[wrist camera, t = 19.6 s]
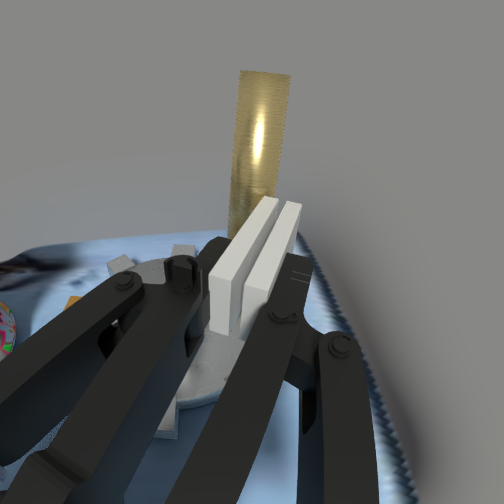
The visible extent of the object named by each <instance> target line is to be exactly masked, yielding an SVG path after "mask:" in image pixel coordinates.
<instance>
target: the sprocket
mask: <svg viewBox="0 0 504 504" xmlns="http://www.w3.org/2000/svg"><path fill="white" fill-rule="evenodd" d="M290 79H291V76H289V75H283V74H275V73H266V72H256V71H241V70H240V75H239V86H238V97H237V108H236V119H235V132H234V144H233V158H232V172H231V186H230V201H229V217H228V218H229V219H228V235H227V238H228V239H232V240H233V239H234V237H235V236H236V235H237V233H238V232H239V230H240V229H241V228H242V226H243V225H244V223H245V222H246V221H247V219H248V218H249V216H250V215H251V214H252V212H253V211H254V209H255V208H256V207H257V205H258V204H259V202H260V201H261V200H262V198H263V197H264V196H267V197H272V198H275V191H276V184H277V176H278V170H279V162H280V155H281V148H282V139H283V132H284V125H285V118H286V110H287V103H288V94H289V87H290ZM175 255H190V256H193V257H195V245H175V244H174V247H173V250H172V254H171V257H172V256H175ZM166 259H168V258H162V259H156V260H151V261H147V262H143V263H140V264H137V265H135V264H134V263H133V262H132V261H131V260H130V259H129V258H128V257H127V256H126V255H125V254H124V255H122V256H120V257H118V258H116V259H113V260H111V261H109V262H107V263H106V264H107V268H108V272H109V276H110V277H111V276H113V275H114V274H116V273H118V272H122V271H133V272H136V273H138V274H139V275H140V276H141V278H142V281H143V283H148V284H164V283H165V282H166V279H165V271H164V263H163V262H164V261H165V260H166ZM80 298H82V297H78V296H70V298H69V300H68V302H67V305H66V307H65V309H64V310H66V309H67V308H68V307H70V306H71V305H72V304H74V303H75V302H76V301H78V300H79V299H80ZM241 313H242V309H241V311H240V313H239V315H238V317H237V320H236V322H235V324H234V326H233V328H232V330H231V332H230V334H229V336H226V335H223V334H220V333H217V332H214V331H211V330H209V322H208V324H207V326H206V328H205V329H204V340H203V342H202V344H201V346H200V348H199V350H198V352H197V354H196V356H195V358H194V360H193V361H192V363H191V365H190V367H189V369H188V371H187V373H186V375H185V377H184V379H183V381H182V383H181V384H180V386H179V388H178V390H177V392H176V394H175V396H174V398H173V400H172V402H171V404H170V406H169V408H168V409H167V411H166V413H165V415H164V417H163V419H162V421H161V423H160V425H159V427H158V429H157V431H156V433H155V434H154V436H153V437H156V438H165V439H176V440H178V423H179V410H181V409H190V408H195V407H199V406H203V405H206V404H209V403H211V402H214V401H217V400H218V398H219V396H220V394H221V392H222V390H223V388H224V386H225V384H226V382H227V380H228V377H229V375H230V373H231V371H232V369H233V367H234V365H235V363H236V361H237V359H238V356H239V354H240V352H241V350H242V348H243V346H244V344H245V341H242V340H239V334H240V323H241ZM116 322H118V321H117V320H116V321H114V322H113V323H112V324H115V323H116Z"/></svg>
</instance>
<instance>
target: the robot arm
mask: <svg viewBox="0 0 504 504" xmlns="http://www.w3.org/2000/svg"><path fill="white" fill-rule="evenodd" d="M278 202H279V199H276V198H272V197H267V196H264V197H263V198H262V200H261V201H260V202H259V204H258V205H257V207H256V208H255V209H254V211H253V212H252V214H251V215H250V216H249V218H248V219H247V221H246V222H245V223H244V225H243V226H242V228H241V229H240V230H239V232H238V233H237V235H236V236H235V237H234V239H233V240H232V239H228V238H223V237H219V236H218V237H216V238H214V239H212V240H211V241H209V242H208V243H207V244H206V246H205V247H204V248H203V249H202V251H201V252H200V253H199V255H198V256H197V257H196V258H195V257H193V256H190V255H175V256H172V257H170V258H168V259H166V260H165V261H164V262H163V263H164V271H165V279H166V282H165V283H164V284H148V283H143V281H142V278H141V276H140V275H139V274H138V273H136V272H133V271H122V272H118V273H116V274H114V275H113V276H111V277H110V278H108V279H107V280H105V281H104V282H103V283H101V284H100V285H98V286H97V287H96V288H94V289H93V290H91V291H90V292H89V293H87V294H86V295H85V296H83V297H82V298H80V299H79V300H78V301H76V302H75V303H74V304H72V305H71V306H70V307H68V308H67V309H66V310H64V311H63V312H62V313H60V314H59V315H58V316H56V317H55V318H54V319H52V320H51V321H50V322H48V323H47V324H46V325H45V326H43V327H42V328H41V329H39V330H38V331H37V332H36V333H34V334H33V335H32V336H31V337H29V338H28V339H27V340H26V341H24V342H23V343H22V344H21V345H19V346H18V347H17V348H16V349H15V350H13V351H12V352H11V353H10V354H9V355H7V356H6V357H5V358H4V359H3V360H1V361H0V481H4V480H5V478H6V472H5V470H4V468H3V467H4V466H7V465H9V464H12V463H13V462H15V461H17V460H18V459H20V458H21V457H22V456H24V455H25V454H26V453H27V452H28V451H30V450H31V449H32V448H33V447H34V446H35V445H36V444H37V443H38V442H39V441H40V440H41V439H42V438H43V437H44V436H46V435H47V434H48V433H49V432H50V431H51V430H52V429H53V428H54V427H55V426H56V425H57V424H58V423H59V422H61V421H62V420H63V419H64V418H65V417H66V416H67V415H68V414H69V413H70V412H71V413H70V414H69V416H68V417H67V419H66V421H65V422H64V424H63V425H62V427H61V428H60V430H59V431H58V433H57V435H56V436H55V438H54V439H53V441H52V443H51V444H50V445H49V447H48V448H46V449H45V450H41V451H36V452H34V453H32V454H30V455H29V456H28V457H27V458H26V460H25V461H24V463H23V464H22V466H21V468H20V469H19V471H18V473H17V475H16V476H15V478H14V480H13V482H12V483H11V485H10V487H9V489H8V490H5V491H0V504H124V493H125V491H126V489H127V487H128V485H129V483H130V481H131V479H132V477H133V475H134V473H135V471H136V469H137V467H138V465H139V463H140V461H141V460H142V458H143V456H144V454H145V452H146V450H147V448H148V446H149V444H150V442H151V440H152V438H153V436H154V434H155V433H156V431H157V429H158V427H159V425H160V423H161V421H162V419H163V417H164V415H165V413H166V411H167V409H168V408H169V406H170V404H171V402H172V400H173V398H174V396H175V394H176V392H177V390H178V388H179V386H180V384H181V383H182V381H183V379H184V377H185V375H186V373H187V371H188V369H189V367H190V365H191V363H192V361H193V360H194V358H195V356H196V354H197V352H198V350H199V348H200V346H201V344H202V342H203V340H204V329H205V328H206V326H207V324H208V322H209V330H211V331H214V332H217V333H220V334H223V335H226V336H229V334H230V332H231V330H232V328H233V326H234V324H235V322H236V320H237V317H238V315H239V313H240V311H241V309H242V313H241V323H240V334H239V340H242V341H245V344H244V346H243V348H242V350H241V352H240V354H239V356H238V359H237V361H236V363H235V365H234V367H233V369H232V371H231V373H230V375H229V377H228V380H227V382H226V384H225V386H224V388H223V390H222V392H221V394H220V396H219V398H218V400H217V402H216V404H215V406H214V408H213V410H212V412H211V414H210V416H209V418H208V420H207V423H206V425H205V427H204V429H203V430H202V432H201V434H200V436H199V438H198V440H197V442H196V444H195V446H194V448H193V450H192V452H191V454H190V456H189V458H188V460H187V462H186V464H185V466H184V468H183V470H182V471H181V473H180V475H179V477H178V479H177V481H176V483H175V485H174V487H173V488H172V490H171V492H170V494H169V496H168V498H167V500H166V501H165V503H164V504H236V503H237V501H238V499H239V496H240V494H241V492H242V489H243V487H244V485H245V482H246V480H247V477H248V475H249V472H250V470H251V468H252V465H253V463H254V460H255V457H256V455H257V452H258V450H259V447H260V444H261V442H262V439H263V437H264V434H265V431H266V428H267V426H268V423H269V420H270V417H271V414H272V412H273V409H274V406H275V403H276V400H277V397H278V394H279V391H280V388H281V385H282V382H283V380H285V381H287V382H288V383H290V384H291V385H293V386H295V387H296V388H298V389H299V443H298V479H297V501H296V504H379V488H378V472H377V460H376V449H375V440H374V431H373V423H372V415H371V408H370V401H369V394H368V388H367V382H366V376H365V370H364V364H363V359H362V353H361V349H360V346H359V344H358V342H357V341H356V340H355V339H354V338H353V337H352V336H350V335H349V334H347V333H344V332H340V331H332V332H328V333H326V334H322V333H320V332H319V331H317V330H315V329H314V328H312V327H311V326H310V325H309V324H308V323H307V321H306V319H305V317H304V314H303V312H304V306H305V302H306V297H307V293H308V289H309V285H310V280H311V276H312V272H313V264H312V262H311V259H310V258H307V257H303V256H299V255H295V254H292V253H293V249H294V244H295V239H296V234H297V229H298V224H299V219H300V213H301V208H302V204H299V203H294V202H289V201H287V202H286V204H285V206H284V208H283V210H282V212H281V214H280V216H279V218H278V220H277V222H276V216H277V209H278ZM275 223H276V224H275ZM116 320H117V321H118V322H116V323H115V324H112V323H113V322H114V321H116Z"/></svg>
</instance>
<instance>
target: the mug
mask: <svg viewBox="0 0 504 504" xmlns="http://www.w3.org/2000/svg"><path fill="white" fill-rule="evenodd" d="M15 338H16V323H15V319H14V316H13V313H12V312H11V310H10V309H9V308H8V307H7V306H6V305H5V304H4V303H2V302H0V361H1V360H3V359H4V358H5V357H6V356H7V355H9V354H10V353H11V352H12V350H13V347H14V344H15Z"/></svg>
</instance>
